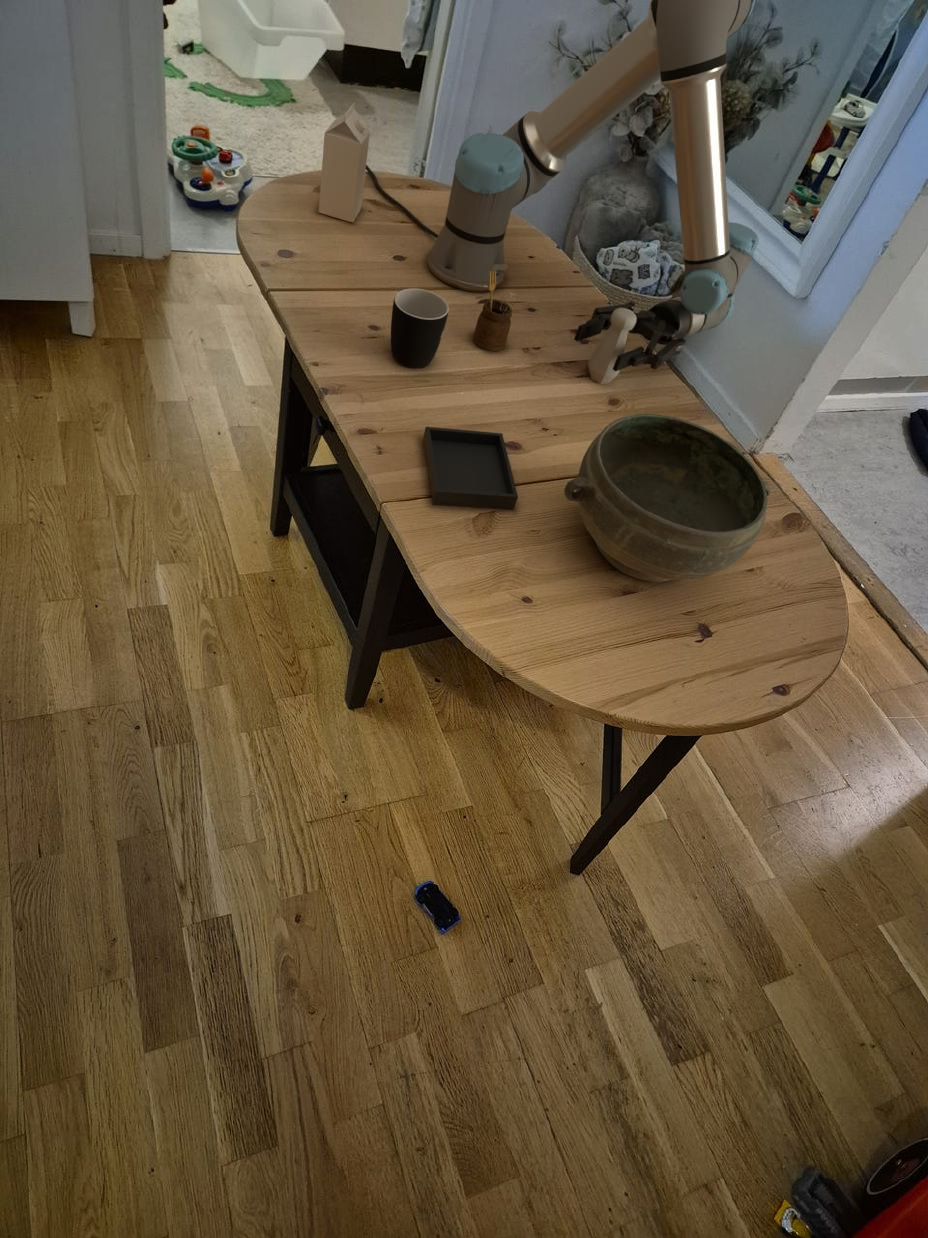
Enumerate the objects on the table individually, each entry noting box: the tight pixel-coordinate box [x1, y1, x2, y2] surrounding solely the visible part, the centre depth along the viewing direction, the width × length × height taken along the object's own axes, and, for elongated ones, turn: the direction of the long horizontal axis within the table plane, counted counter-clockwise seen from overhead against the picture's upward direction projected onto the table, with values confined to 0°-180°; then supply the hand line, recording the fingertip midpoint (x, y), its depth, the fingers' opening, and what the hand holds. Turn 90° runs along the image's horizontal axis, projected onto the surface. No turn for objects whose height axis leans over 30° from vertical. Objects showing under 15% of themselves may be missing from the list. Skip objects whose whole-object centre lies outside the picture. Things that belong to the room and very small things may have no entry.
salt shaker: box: [588, 308, 637, 385], centre depth 140 cm, size 6×6×13 cm
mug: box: [390, 287, 449, 369], centre depth 133 cm, size 12×9×10 cm
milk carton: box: [318, 102, 371, 223], centre depth 155 cm, size 7×7×19 cm
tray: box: [422, 426, 519, 511], centre depth 119 cm, size 14×12×3 cm
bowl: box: [564, 413, 772, 583], centre depth 113 cm, size 32×26×15 cm
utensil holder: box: [473, 270, 517, 352], centre depth 139 cm, size 6×6×12 cm
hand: (597, 348), depth 137 cm, fingers open, 9 cm apart
